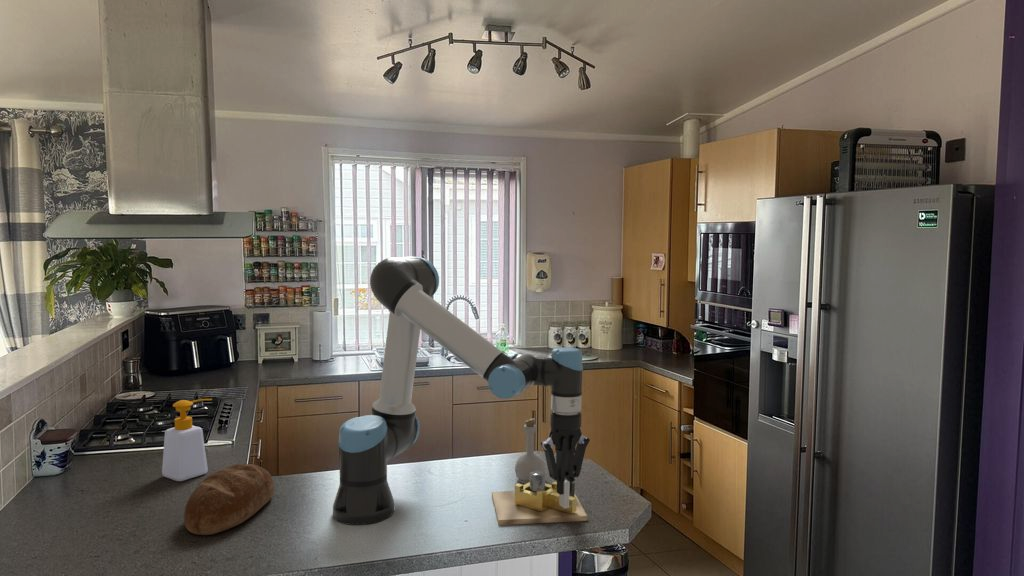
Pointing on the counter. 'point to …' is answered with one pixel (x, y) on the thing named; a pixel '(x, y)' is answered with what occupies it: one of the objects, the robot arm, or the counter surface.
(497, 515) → the oak board
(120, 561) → the counter surface
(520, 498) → the handled square frame
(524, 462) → the potion bottle
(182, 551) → the counter surface
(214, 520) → the bread
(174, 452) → the soap bottle
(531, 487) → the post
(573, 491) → the block
